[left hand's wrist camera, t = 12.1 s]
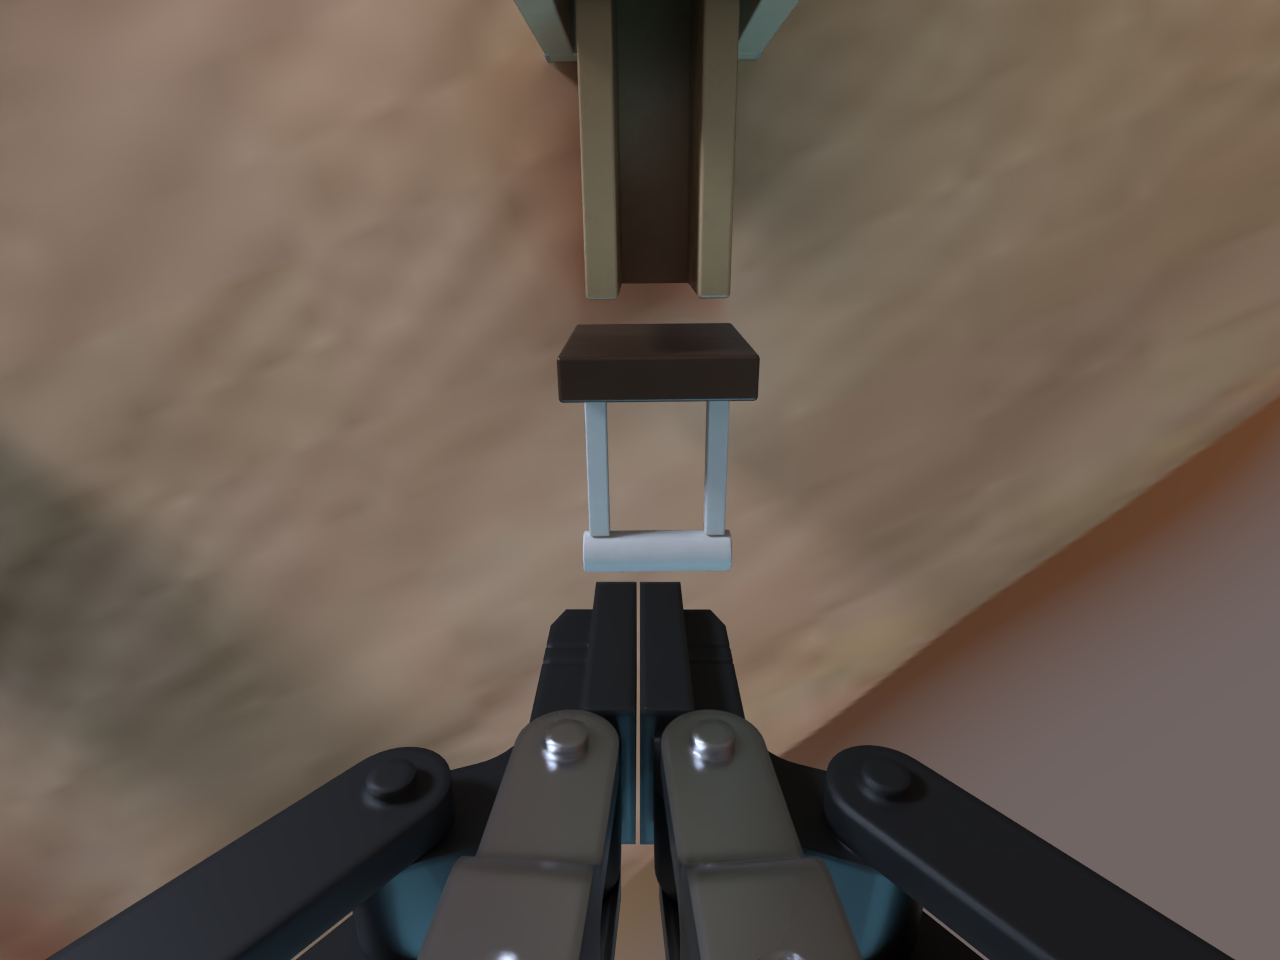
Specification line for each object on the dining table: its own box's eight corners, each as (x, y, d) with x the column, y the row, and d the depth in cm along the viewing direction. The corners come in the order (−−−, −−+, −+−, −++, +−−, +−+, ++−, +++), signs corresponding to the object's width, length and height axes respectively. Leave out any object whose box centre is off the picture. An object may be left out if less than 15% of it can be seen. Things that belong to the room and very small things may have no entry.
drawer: (725, 517, 26) (748, 599, 20) (584, 519, 26) (569, 601, 20) (752, -276, 18) (803, -495, 12) (550, -273, 18) (512, -490, 12)
